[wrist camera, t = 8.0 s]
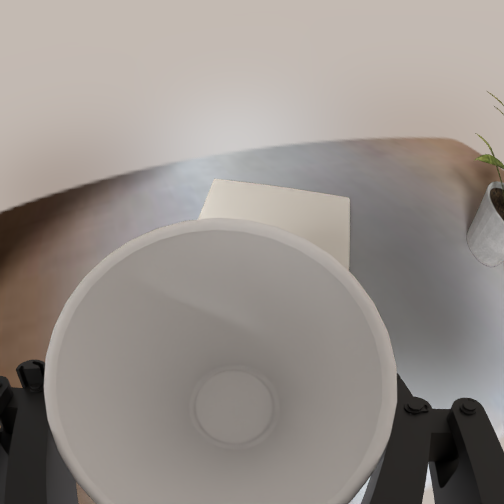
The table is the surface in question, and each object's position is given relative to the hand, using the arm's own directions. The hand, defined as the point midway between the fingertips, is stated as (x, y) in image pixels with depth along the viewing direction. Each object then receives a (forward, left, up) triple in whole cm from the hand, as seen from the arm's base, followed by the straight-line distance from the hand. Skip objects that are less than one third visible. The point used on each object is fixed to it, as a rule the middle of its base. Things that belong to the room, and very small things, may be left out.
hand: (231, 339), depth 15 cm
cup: (0, -3, -4) cm, 5 cm away
